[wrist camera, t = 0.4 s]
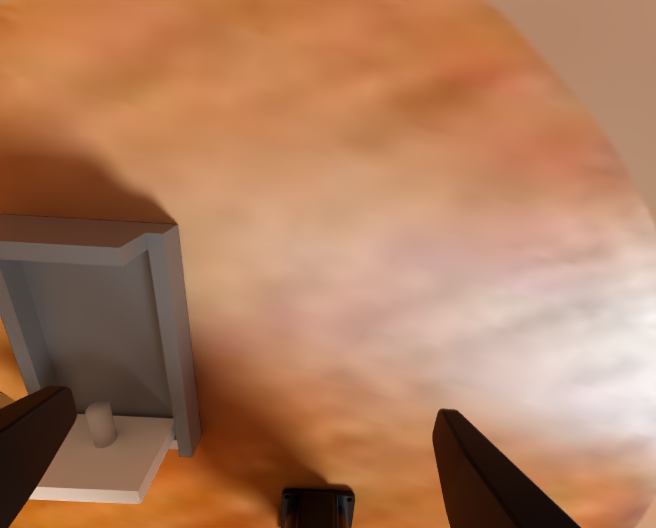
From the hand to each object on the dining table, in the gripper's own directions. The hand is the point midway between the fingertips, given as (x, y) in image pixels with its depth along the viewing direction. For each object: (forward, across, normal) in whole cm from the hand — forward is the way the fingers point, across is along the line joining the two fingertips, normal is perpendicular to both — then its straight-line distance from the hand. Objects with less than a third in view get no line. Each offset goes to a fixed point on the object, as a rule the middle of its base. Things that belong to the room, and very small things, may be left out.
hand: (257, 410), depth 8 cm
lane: (+14, +13, +9) cm, 21 cm away
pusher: (+13, +13, +14) cm, 23 cm away
